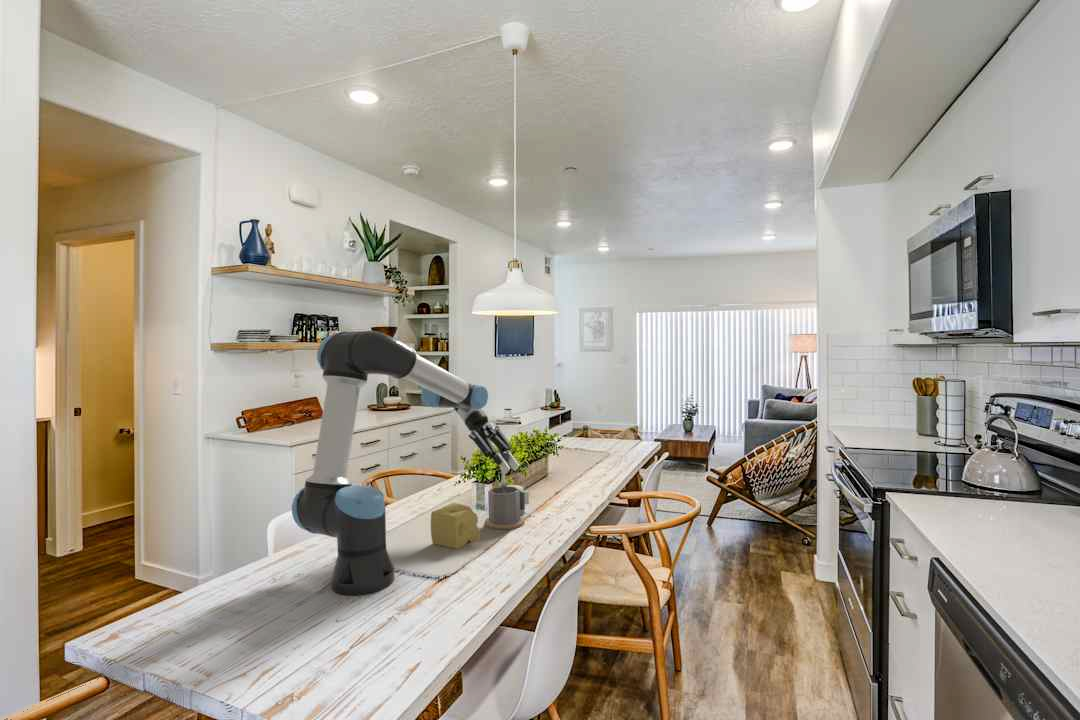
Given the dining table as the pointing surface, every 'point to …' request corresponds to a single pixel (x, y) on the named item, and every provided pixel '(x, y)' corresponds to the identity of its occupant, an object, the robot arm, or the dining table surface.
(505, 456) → the plunger
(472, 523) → the cheese
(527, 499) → the pale green dome knob
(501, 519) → the grey octagonal cup
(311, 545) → the dining table surface
